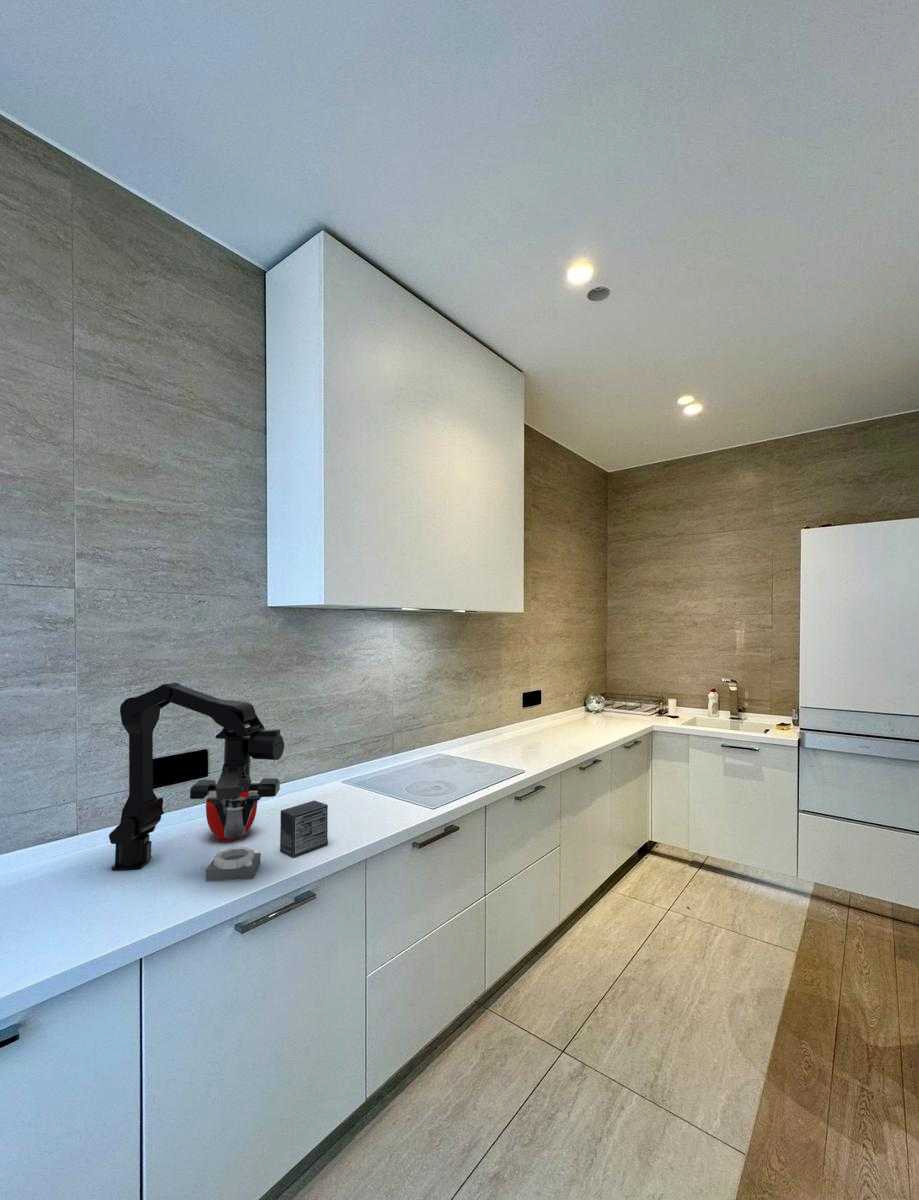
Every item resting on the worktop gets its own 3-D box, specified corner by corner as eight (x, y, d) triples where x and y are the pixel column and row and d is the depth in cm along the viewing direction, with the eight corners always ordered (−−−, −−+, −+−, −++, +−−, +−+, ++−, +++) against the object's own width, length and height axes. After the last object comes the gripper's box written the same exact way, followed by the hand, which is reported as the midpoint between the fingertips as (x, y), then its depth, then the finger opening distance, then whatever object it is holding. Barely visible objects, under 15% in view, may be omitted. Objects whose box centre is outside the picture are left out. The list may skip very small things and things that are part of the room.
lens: (221, 839, 123) (222, 803, 123) (227, 831, 127) (228, 796, 128) (242, 838, 123) (243, 802, 124) (247, 830, 128) (248, 796, 128)
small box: (313, 838, 145) (314, 799, 145) (328, 845, 141) (329, 804, 141) (278, 851, 137) (279, 809, 137) (293, 858, 133) (294, 815, 133)
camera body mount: (205, 881, 120) (205, 863, 120) (216, 865, 128) (217, 848, 129) (252, 879, 122) (252, 860, 122) (260, 863, 130) (260, 846, 130)
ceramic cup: (272, 823, 156) (273, 788, 156) (241, 847, 139) (242, 807, 139) (229, 821, 157) (230, 786, 158) (194, 844, 140) (195, 805, 141)
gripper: (182, 767, 117) (179, 841, 116) (271, 766, 120) (269, 837, 119) (199, 755, 128) (197, 822, 127) (281, 753, 131) (279, 819, 130)
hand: (235, 825), depth 126 cm, fingers closed on lens, 4 cm apart
